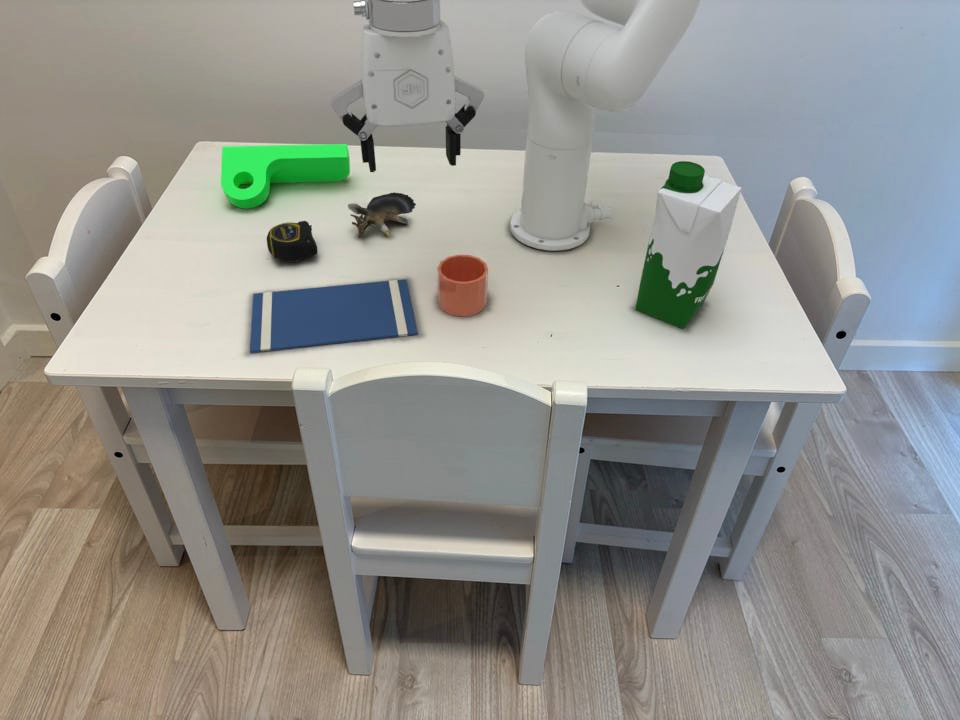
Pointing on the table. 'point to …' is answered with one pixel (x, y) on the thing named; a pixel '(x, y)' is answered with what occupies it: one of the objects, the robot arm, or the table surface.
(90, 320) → the table surface
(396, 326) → the towel
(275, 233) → the tape measure
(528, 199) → the robot arm
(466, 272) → the orange plastic cup
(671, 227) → the milk carton
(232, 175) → the bracket
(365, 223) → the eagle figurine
